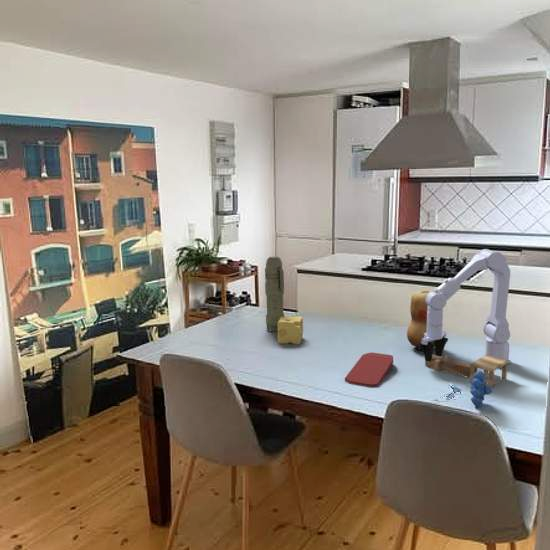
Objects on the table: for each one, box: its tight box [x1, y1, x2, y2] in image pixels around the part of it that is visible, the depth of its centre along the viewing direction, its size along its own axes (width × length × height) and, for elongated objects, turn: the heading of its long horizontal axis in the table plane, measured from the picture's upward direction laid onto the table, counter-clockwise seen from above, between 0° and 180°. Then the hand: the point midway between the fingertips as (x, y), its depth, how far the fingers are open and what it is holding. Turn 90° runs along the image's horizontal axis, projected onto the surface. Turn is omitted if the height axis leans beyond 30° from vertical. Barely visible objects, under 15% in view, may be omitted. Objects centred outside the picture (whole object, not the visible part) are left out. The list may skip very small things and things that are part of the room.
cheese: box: [277, 316, 304, 345], centre depth 240 cm, size 10×11×10 cm
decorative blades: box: [434, 383, 462, 401], centre depth 179 cm, size 20×1×10 cm
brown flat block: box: [483, 371, 502, 386], centre depth 189 cm, size 6×6×2 cm
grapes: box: [469, 370, 494, 408], centre depth 167 cm, size 12×7×12 cm, turn 150°
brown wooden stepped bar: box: [424, 354, 478, 378], centre depth 199 cm, size 8×19×4 cm, turn 44°
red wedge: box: [344, 351, 394, 388], centre depth 199 cm, size 12×5×25 cm
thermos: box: [264, 256, 286, 332], centre depth 256 cm, size 9×12×35 cm
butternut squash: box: [406, 289, 435, 351], centre depth 222 cm, size 14×13×25 cm
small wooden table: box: [469, 355, 509, 389], centre depth 189 cm, size 12×8×7 cm, turn 134°
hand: (433, 358), depth 204 cm, fingers open, 7 cm apart
